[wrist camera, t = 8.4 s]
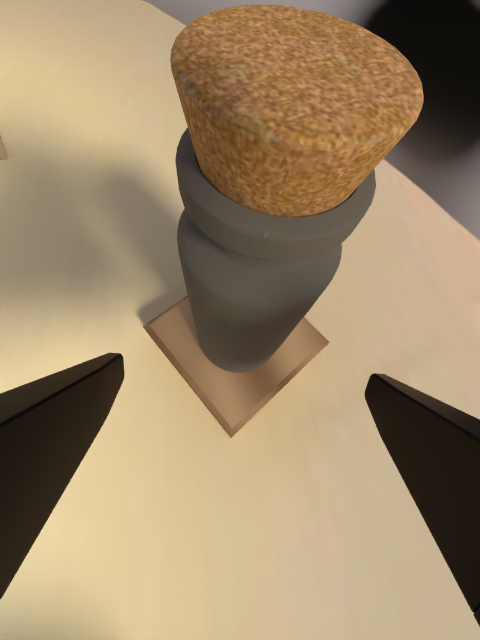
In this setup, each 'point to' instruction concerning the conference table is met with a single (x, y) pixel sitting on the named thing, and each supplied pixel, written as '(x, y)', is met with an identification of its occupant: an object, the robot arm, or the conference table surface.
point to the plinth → (224, 386)
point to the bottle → (277, 164)
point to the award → (2, 150)
